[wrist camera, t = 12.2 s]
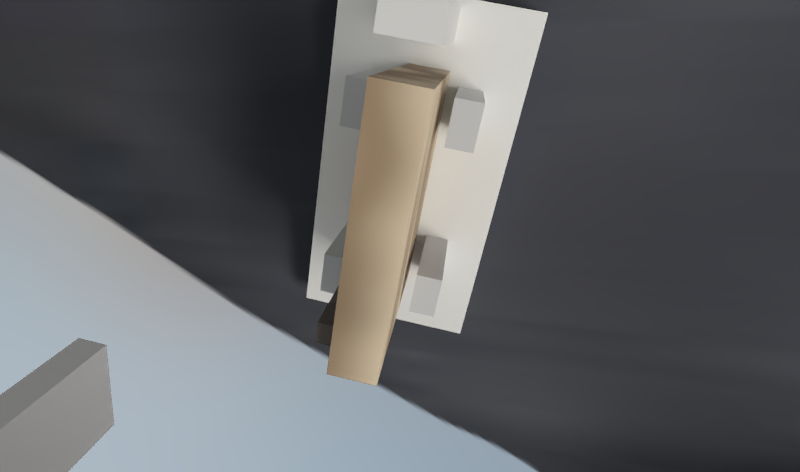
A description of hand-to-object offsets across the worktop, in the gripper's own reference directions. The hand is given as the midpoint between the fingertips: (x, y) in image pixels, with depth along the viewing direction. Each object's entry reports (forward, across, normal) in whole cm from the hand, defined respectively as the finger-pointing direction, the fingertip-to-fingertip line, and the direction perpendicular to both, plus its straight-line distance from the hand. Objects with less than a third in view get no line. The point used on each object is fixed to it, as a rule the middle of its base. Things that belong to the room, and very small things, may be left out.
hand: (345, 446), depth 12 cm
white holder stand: (+23, +2, -1) cm, 23 cm away
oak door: (+21, +2, -1) cm, 21 cm away
